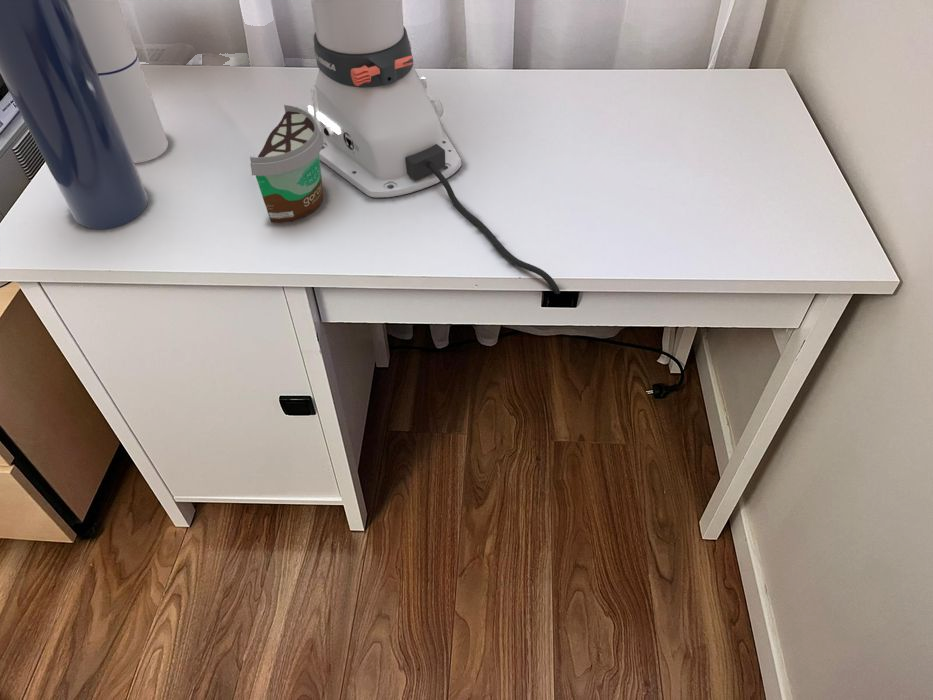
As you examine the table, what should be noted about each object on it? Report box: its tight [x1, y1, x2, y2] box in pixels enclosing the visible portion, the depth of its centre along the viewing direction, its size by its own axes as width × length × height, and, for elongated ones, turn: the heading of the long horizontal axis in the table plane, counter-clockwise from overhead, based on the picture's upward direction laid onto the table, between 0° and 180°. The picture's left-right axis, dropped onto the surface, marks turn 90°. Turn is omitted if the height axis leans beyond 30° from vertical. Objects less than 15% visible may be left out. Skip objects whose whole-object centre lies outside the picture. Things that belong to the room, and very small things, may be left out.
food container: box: [249, 104, 324, 224], centre depth 89 cm, size 12×6×10 cm, turn 170°
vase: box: [0, 0, 149, 230], centre depth 79 cm, size 9×9×36 cm
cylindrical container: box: [68, 0, 169, 164], centre depth 91 cm, size 7×7×25 cm
